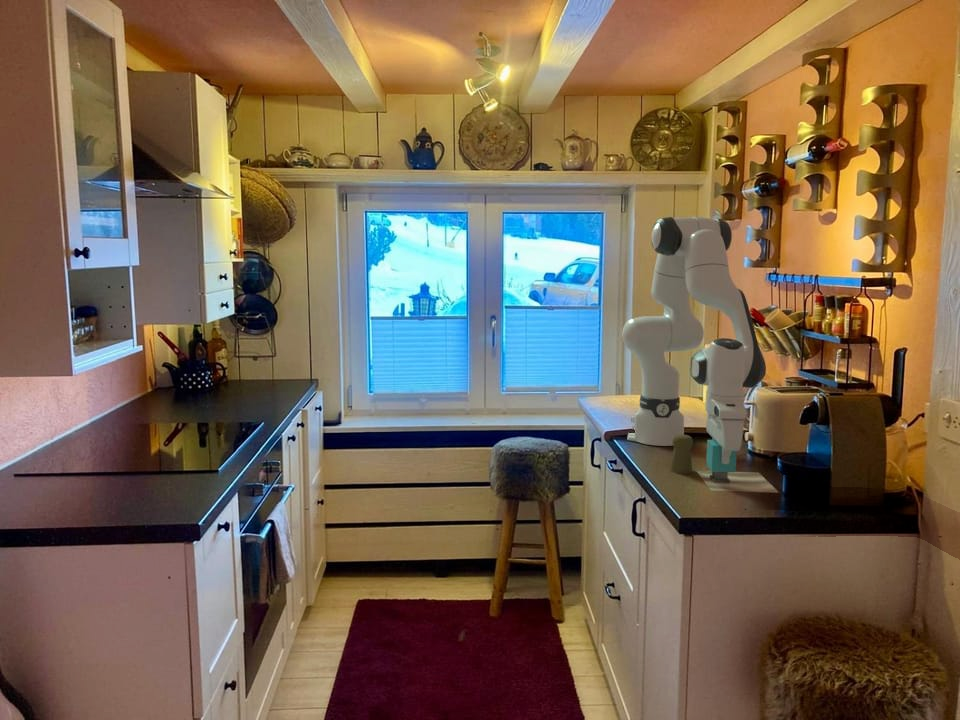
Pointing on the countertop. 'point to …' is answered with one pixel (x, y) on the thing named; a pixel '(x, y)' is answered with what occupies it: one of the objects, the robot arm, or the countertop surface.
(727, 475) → the stand
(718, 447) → the teal rounded cube
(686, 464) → the cork
